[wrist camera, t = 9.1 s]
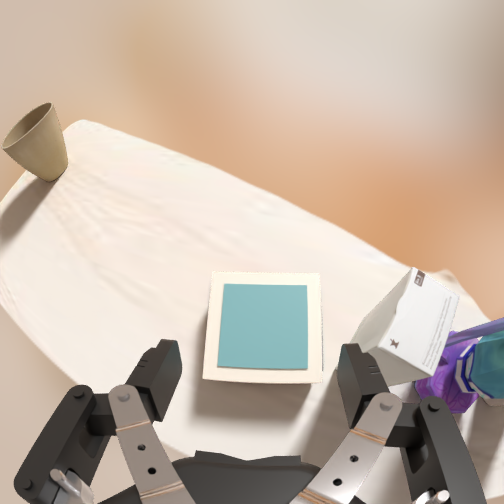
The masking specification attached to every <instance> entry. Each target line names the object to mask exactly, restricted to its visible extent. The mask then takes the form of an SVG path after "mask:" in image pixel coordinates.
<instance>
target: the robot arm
mask: <svg viewBox="0 0 504 504" xmlns="http://www.w3.org/2000/svg"><path fill="white" fill-rule="evenodd" d="M181 374H182V362H181V357H180V352H179V347H178V343H177V341H176V340H167V339H161V340H160V342H159V344H158V345H157V347H156V348H150V349H149V350H148V351H146V352H145V353H144V354H143V356H142V357H141V359H140V361H139V362H138V364H137V366H136V367H135V369H134V370H133V372H132V373H131V375H130V377H129V378H128V380H127V382H126V383H125V384H124V385H119V386H116V387H114V388H113V389H112V390H111V391H110V392H109V393H108V394H94V393H93V391H92V389H91V388H90V387H89V386H86V385H77V386H75V387H72V388H71V389H70V390H69V391H68V392H67V394H66V395H65V397H64V398H63V400H62V401H61V403H60V404H59V406H58V407H57V409H56V410H55V412H54V413H53V415H52V416H51V418H50V419H49V421H48V422H47V424H46V426H45V427H44V429H43V430H42V432H41V434H40V436H39V437H38V438H37V440H36V442H35V443H34V445H33V447H32V448H31V450H30V452H29V454H28V455H27V457H26V459H25V460H24V462H23V464H22V465H21V467H20V469H19V471H18V473H17V475H16V477H15V479H14V488H15V490H16V492H17V493H18V494H19V495H20V496H21V497H22V498H23V499H25V500H26V501H27V502H28V503H30V504H94V502H93V499H94V495H93V492H92V490H91V488H90V485H91V482H92V480H93V477H94V475H95V472H96V470H97V467H98V465H99V463H100V460H101V458H102V456H103V453H104V451H105V448H106V446H107V444H108V442H109V439H110V437H111V436H112V435H113V436H117V437H118V440H119V443H120V446H121V449H122V451H123V454H124V457H125V460H126V462H127V465H128V467H129V470H130V472H131V475H132V477H133V480H134V482H135V485H133V486H131V487H129V488H128V489H126V490H124V491H122V492H120V493H118V494H116V495H114V496H112V497H110V498H108V499H106V500H104V501H102V502H100V503H98V504H366V503H364V502H363V501H362V500H360V499H359V498H358V497H356V496H355V493H356V492H357V490H358V489H359V487H360V486H361V484H362V483H363V481H364V480H365V478H366V477H367V475H368V473H369V472H370V470H371V468H372V467H373V465H374V463H375V462H376V460H377V458H378V456H379V454H380V453H381V451H382V449H383V447H384V446H387V447H400V451H401V455H402V459H403V463H404V467H405V471H406V476H407V480H408V485H409V489H410V494H411V499H412V503H411V504H487V503H486V500H485V496H484V493H483V490H482V487H481V484H480V481H479V478H478V476H477V473H476V470H475V467H474V465H473V462H472V460H471V457H470V455H469V452H468V450H467V447H466V445H465V442H464V440H463V438H462V436H461V433H460V431H459V429H458V427H457V424H456V422H455V420H454V418H453V416H452V414H451V412H450V410H449V407H448V405H447V404H446V402H445V401H444V400H443V399H442V398H440V397H437V396H428V397H425V398H424V399H423V400H422V401H421V403H420V404H408V403H402V401H401V399H400V398H399V397H398V396H396V395H395V394H392V393H390V391H389V389H388V386H387V384H386V382H385V380H384V377H383V375H382V373H381V371H380V369H379V367H378V364H377V362H376V360H375V358H374V357H373V356H372V355H370V354H369V353H368V352H366V353H362V351H361V348H360V346H359V344H358V343H351V344H343V345H342V348H341V353H340V358H339V363H338V368H337V379H338V383H339V387H340V391H341V395H342V399H343V403H344V407H345V411H346V415H347V420H348V424H349V428H350V429H351V430H350V432H349V433H348V434H347V436H346V437H345V439H344V440H343V441H342V443H341V444H340V446H339V447H338V448H337V450H336V451H335V452H334V454H333V455H332V456H331V458H330V459H329V460H328V462H327V463H326V464H325V465H324V467H323V468H322V469H321V468H319V467H317V466H314V465H311V464H308V463H303V462H301V458H300V456H273V457H267V458H262V459H256V460H249V461H246V460H242V459H238V458H235V457H231V456H228V455H224V454H221V453H212V452H204V451H197V450H196V453H195V456H194V457H188V458H183V459H179V460H176V461H174V462H172V463H171V462H170V460H169V458H168V456H167V454H166V453H165V450H164V449H163V447H162V445H161V443H160V441H159V439H158V436H157V434H156V432H155V430H154V428H153V426H152V424H153V422H154V421H159V422H162V421H163V419H164V416H165V414H166V411H167V409H168V406H169V404H170V401H171V399H172V396H173V394H174V391H175V389H176V387H177V384H178V382H179V379H180V377H181ZM483 399H484V401H485V402H486V403H487V404H488V405H490V406H501V405H504V399H485V398H483Z"/></svg>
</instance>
